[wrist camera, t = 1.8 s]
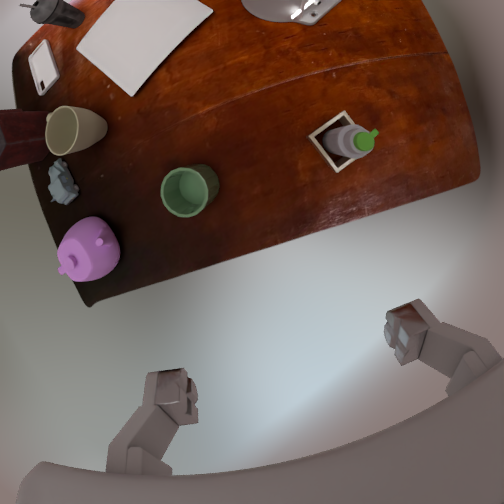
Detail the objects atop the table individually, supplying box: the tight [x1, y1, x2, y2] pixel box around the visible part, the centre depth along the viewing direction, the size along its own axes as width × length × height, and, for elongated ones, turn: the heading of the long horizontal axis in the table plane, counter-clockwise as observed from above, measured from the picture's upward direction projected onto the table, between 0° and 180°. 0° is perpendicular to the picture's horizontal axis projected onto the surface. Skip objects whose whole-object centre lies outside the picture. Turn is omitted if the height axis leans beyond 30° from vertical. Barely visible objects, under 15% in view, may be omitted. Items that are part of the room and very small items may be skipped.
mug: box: [45, 106, 107, 156], centre depth 42 cm, size 11×10×12 cm
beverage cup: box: [20, 0, 85, 28], centre depth 28 cm, size 7×7×20 cm
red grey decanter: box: [0, 109, 50, 171], centre depth 36 cm, size 9×11×28 cm
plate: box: [76, 0, 213, 96], centre depth 38 cm, size 22×22×2 cm
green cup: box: [161, 164, 219, 217], centre depth 47 cm, size 8×8×8 cm
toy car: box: [48, 158, 79, 205], centre depth 51 cm, size 6×10×5 cm, turn 29°
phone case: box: [29, 40, 60, 95], centre depth 42 cm, size 7×1×15 cm
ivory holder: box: [306, 110, 356, 173], centre depth 42 cm, size 7×7×6 cm
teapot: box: [57, 217, 120, 282], centre depth 52 cm, size 20×13×12 cm, turn 118°
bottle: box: [322, 124, 379, 159], centre depth 36 cm, size 4×4×20 cm
